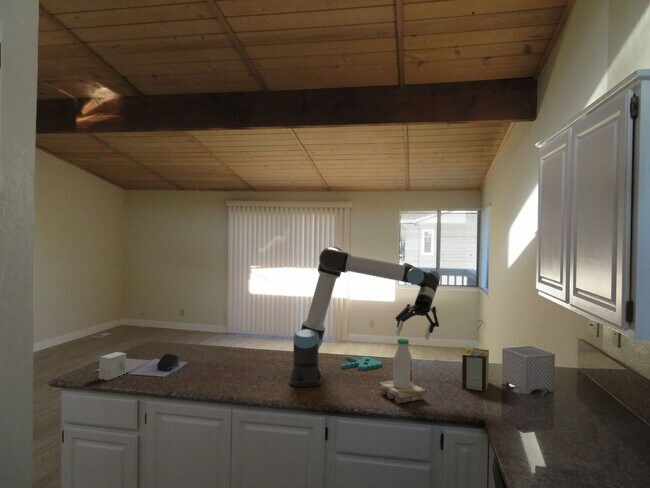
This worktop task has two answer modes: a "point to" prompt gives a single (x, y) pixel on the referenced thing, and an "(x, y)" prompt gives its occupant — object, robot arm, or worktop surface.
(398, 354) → the milk bottle
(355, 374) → the worktop surface
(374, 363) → the alien figure
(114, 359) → the skincare box
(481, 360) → the protein box
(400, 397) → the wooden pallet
